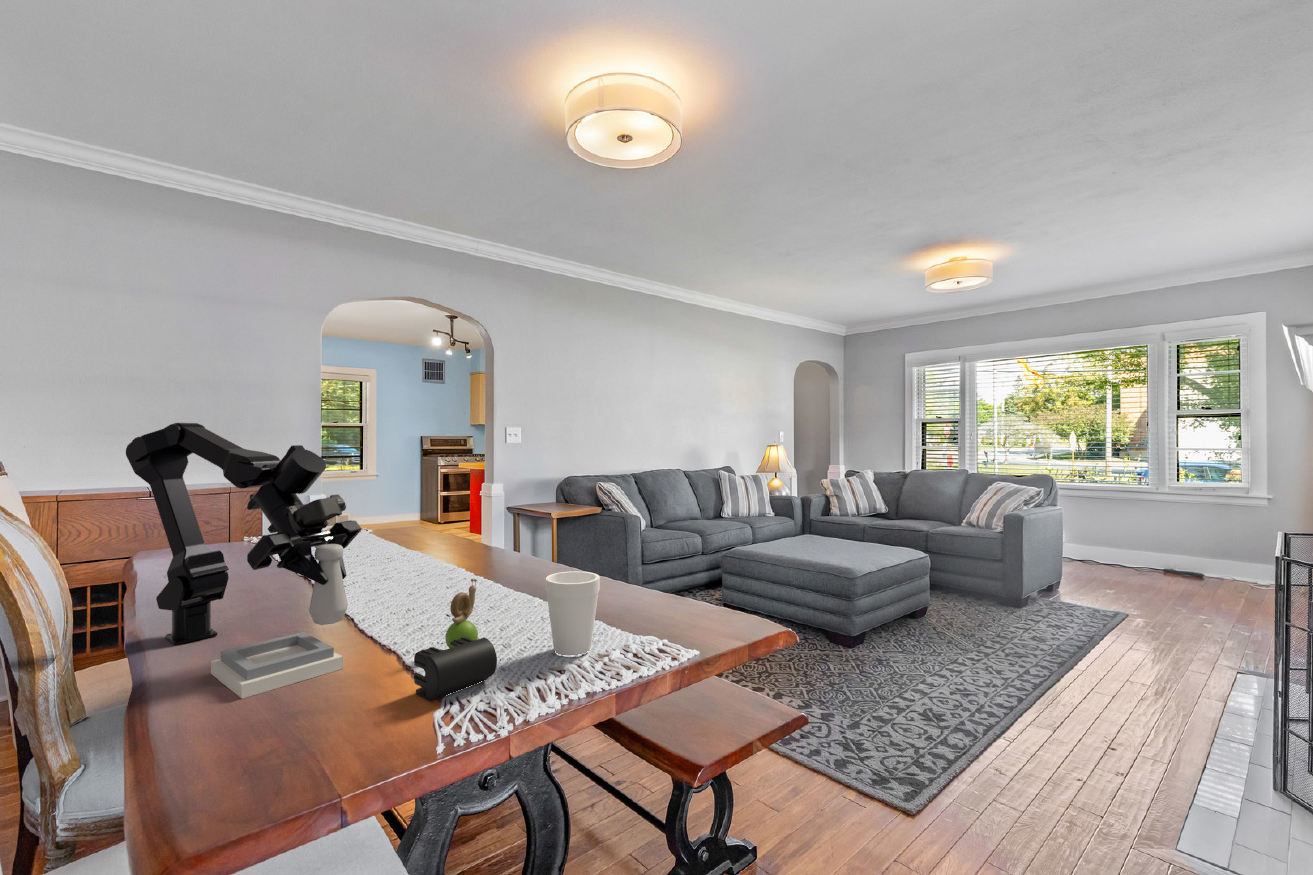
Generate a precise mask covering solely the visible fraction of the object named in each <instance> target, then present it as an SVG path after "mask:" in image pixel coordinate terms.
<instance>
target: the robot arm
mask: <svg viewBox="0 0 1313 875" xmlns="http://www.w3.org/2000/svg"><path fill="white" fill-rule="evenodd" d="M192 454H194V455H196V456H199V457H200V458H202V459H204V460H205V461H207V462H208V463H209V462H210V463H211V464H213V465H215V466H217V467H219V468H220V469H221V470H222V473H223V477H224V478H225V479H226V480H227V481H228V482H230V484H232V485H233V486H234V487H236V488H238V489H240V490H241V489H251V488H252V489H253V488H258V489H257V490H256V492H255V493H251V494H250V495H249V500H248V501H247V506H246V509H247V510H248V511H252V510H261V512H262V514H263V515H264V516H265V517H266V519H267V520H268V521H269V523H270V525H269V526H268V527H267V531H268V532H269V534H264V535H262V536H261V537H260V538H259V539H258V541H257V542H256V543H255V544H254V545H253V547H252V548H251V549H250V550H249V551H248V552H247V556H246V557H247V558H246V560H247V563H248V564H249V566H250V567H251V568H252V570H253V571H256V570H261V569H265V568H269V567H270V566H271V564H272V563H273V562H272V561H273V559H272V557H271V556H274V555H278V557H279V560H280V561H279V562H278V563H277V564H276V567H277V568H278V569H285V570H288V571H290V572H293V573H296V574H298V575H300V576H302V577H304V578H307V579H309V580H311V581H313V582H317V583H319V584H322V585H325V584H326V583H327V582H328V579H327V577H326V575H325V573H324V572H323V570H322V568H321V567H320V565H319V564H318V562H319V560H316V559H315V555H313V553H312V552H313V551H312V548H315V549H316V548H317V547H318V546H321V545H325V544H338V545H341V546H342V547H343V550H344V549H345V548H347V547H348V546H349V545H350V544H351V543H352V541H353V540H354V539H355V538H356V537H357V536H358V534H360V533H361V531H362V530H363V529H362V527H361V526H360V525H359V523H358V521H357V520H353V519H352V520H351V519H350V520H343V521H340V522H335V523H334V524H333V525H332V526H331V528H330V529H329V530H328V531H324V532H323V529H326V528H327V527H328V526H329V522H328V521H329V520H331V519H334V518H335V517H340V516H341V515H342V514H343V511H346V509H347V504H346V502H345V500H344V499H343V498H342V497H341V495H340V494H339V493H337V494H331V495H329V497H325V498H318V499H315V500H312V501H310V502H308V503H305V504H304V503H303V502H302V501H301V499H300V498H299V496H298V495H301V494H305V493H306V492H308V491H309V489H310V488H312V486H313V484H314V483H315V482H317V480H318V479H319V477H321V475H322V474H323V472H325V470H326V469H327V463H326V461H325V459H324V458H323V457H322V456H320V455H318V454H317V453H316V452H313V451H311V450H308V449H305V447H304V446H303V445H300V444H299V445H295V444H294V445H293V444H292V445H291V446H290V447H289V449H288V450H287V451H286V454H285V455H283V457H282V458H281V459H280V458H279V457H278V456H277V455H276V454H275V455H274V454H271V453H267V452H265V451H259V450H250V449H246V448H243V447H241V446H239V445H238V444H236V443H234V442H232V441H229V439H226V438H224V437H222V436H221V435H218V434H216V433H215V432H213V431H211V430H209V429H208V428H207V429H206V427H205V426H204V425H203V424H200V423H197V422H174V423H171V424H169V425H167V426H166V427H164V428H161V429H158V430H155V431H151V432H149V433H148V432H147V433H146V434H143V435H140V436H137V437H135V438H133V440H132V441H131V442H129V444H127V445H126V448H125V456H126V458H127V460H128V462H129V464H130V467H131V469H132V470H133V472H134V474H135V475H136V476H138V478H141V479H142V480H143V481H144V482H145V483H147V484H148V485H149V486H150V489H151V492H152V495H153V499H154V502H155V504H156V507H157V511H158V514H159V517H160V520H161V523H162V526H163V529H164V533H165V535H166V538H167V542H168V545H169V548H170V551H171V556H172V558H171V561H170V563H169V566H168V568H167V572H166V576H167V584H166V585H165V586H164V587H163V589H162V590H161V591H160V593H159V594H158V595H157V596H156V597H155V600H156V603H157V607H158V610H165V611H171V633H166V634H165V638H166V639H167V641H169V642H170V643H172V644H173V645H181V644H184V643H190V642H193V641H198V640H202V639H208V638H212V637H216V636H218V632H217V631H216V630H214V629H213V628H211V627H212V626H211V623H212V620H211V619H212V612H211V611H212V610H211V609H212V602H214V601H217V600H223V599H224V597H225V593H226V589H227V585H228V581H229V577H230V576H229V572H228V571H229V570H230V568H229V567H228V566H227V564H226V561H225V557H224V556H225V555H224V553H223V552H222V551H221V550H219V549H218V550H211V549H210V548H209V547H207V545H206V543H205V542H206V541H205V540H204V538H203V534H202V531H201V527H200V525H199V522H198V518H197V516H196V512H195V509H194V507H193V504H192V501H191V497H190V495H189V492H188V488H187V485H186V482H185V480H184V474H185V472H186V470H187V466H188V464H189V456H190V455H192ZM339 562H340V568H341V573H342V579H343V580H344V579H346V577H347V571H346V567H345V562H344V558H343V556H342V558H340V559H339Z"/></svg>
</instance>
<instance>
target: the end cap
mask: <svg viewBox="0 0 1313 875" xmlns="http://www.w3.org/2000/svg"><path fill="white" fill-rule="evenodd" d="M450 645H453V646H456V647H453V648H447V649H446V648H445V649H439V648H437V647H434V646H430V647H429V648H425V649H421V650H420V651H417V652H416V653H415V654H414V657H413V658H414V660H413V664H414V666H416V667H419V668H421V669H422V670H423V671H424V675H422V674H420V673H418V672H414V674H413V675H414V676H413V679H414V680H413V681H414V684H415V685H416V686H419V687H418V688H417V689H415V695H416V696H418V697H420V698H421V699H424V700H426V702H427V701H428V702H429V703H430V702H435V701H437V700H440V699H443V698H445V696H446V695H448V694H450V693H453V692H456V691H458V690H461V689H464V688H466V687H469V686H471V685H474V684H477V683H479V682H481V681H484V680H486V681H487V680H488V679H489V678H491V677H492V676H493V675H494V674H495V672H496V670H497V666H498V656H497V652H496V649H495V647H494V645H493V643H492V642H491V640H490V639H488V638H487V637H482V638H477V640H475V641H474V640H471V639H469V638H466V637H464V638H463V637H462V638H461V639H457V640H453V641H451V642H450ZM484 682H485V681H484ZM479 684H480V683H479ZM477 685H478V684H477ZM474 686H475V685H474ZM471 687H472V686H471ZM469 688H470V687H469ZM466 689H467V688H466ZM464 690H465V689H464ZM461 691H462V690H461ZM456 693H457V692H456ZM453 694H454V693H453ZM448 696H449V695H448ZM446 697H447V696H446Z"/></svg>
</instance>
